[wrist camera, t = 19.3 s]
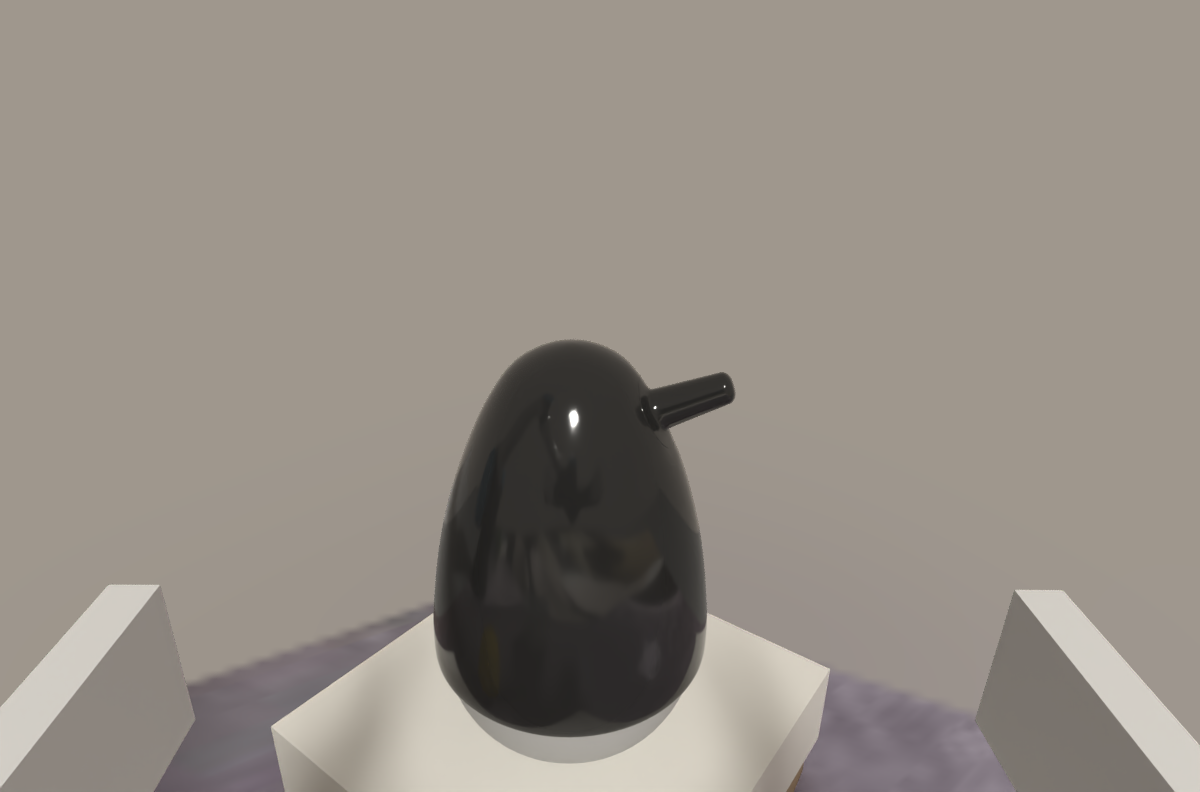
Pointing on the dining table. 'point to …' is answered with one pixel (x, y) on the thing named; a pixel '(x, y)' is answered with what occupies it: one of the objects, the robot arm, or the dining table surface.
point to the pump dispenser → (574, 556)
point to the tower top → (538, 788)
